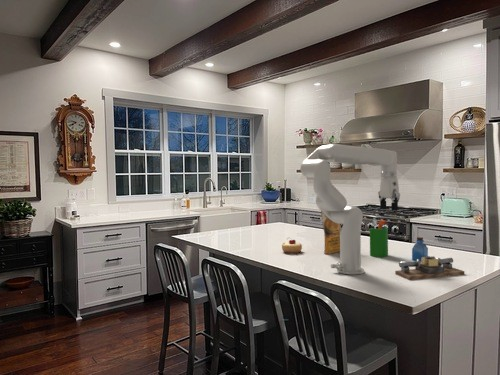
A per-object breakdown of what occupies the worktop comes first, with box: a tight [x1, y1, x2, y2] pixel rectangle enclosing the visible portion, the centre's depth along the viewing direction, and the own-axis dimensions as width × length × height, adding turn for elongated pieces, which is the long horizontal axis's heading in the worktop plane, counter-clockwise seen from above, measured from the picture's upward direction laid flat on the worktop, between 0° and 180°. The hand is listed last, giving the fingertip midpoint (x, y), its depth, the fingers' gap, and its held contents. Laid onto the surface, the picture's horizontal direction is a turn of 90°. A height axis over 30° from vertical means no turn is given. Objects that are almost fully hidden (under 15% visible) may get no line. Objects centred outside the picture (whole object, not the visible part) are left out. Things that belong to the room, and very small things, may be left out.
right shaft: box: [435, 257, 454, 269], centre depth 181 cm, size 9×4×7 cm, turn 114°
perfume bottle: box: [411, 236, 429, 262], centre depth 205 cm, size 6×6×12 cm
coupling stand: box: [394, 265, 465, 281], centre depth 177 cm, size 29×10×4 cm, turn 104°
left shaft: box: [398, 260, 421, 273], centre depth 177 cm, size 9×4×7 cm, turn 94°
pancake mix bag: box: [320, 210, 342, 255], centre depth 228 cm, size 7×19×28 cm, turn 132°
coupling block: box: [420, 255, 438, 268], centre depth 177 cm, size 5×5×7 cm
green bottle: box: [369, 220, 389, 258], centre depth 217 cm, size 10×9×20 cm
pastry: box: [281, 237, 303, 254], centre depth 230 cm, size 12×12×9 cm
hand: (388, 209), depth 194 cm, fingers open, 9 cm apart
